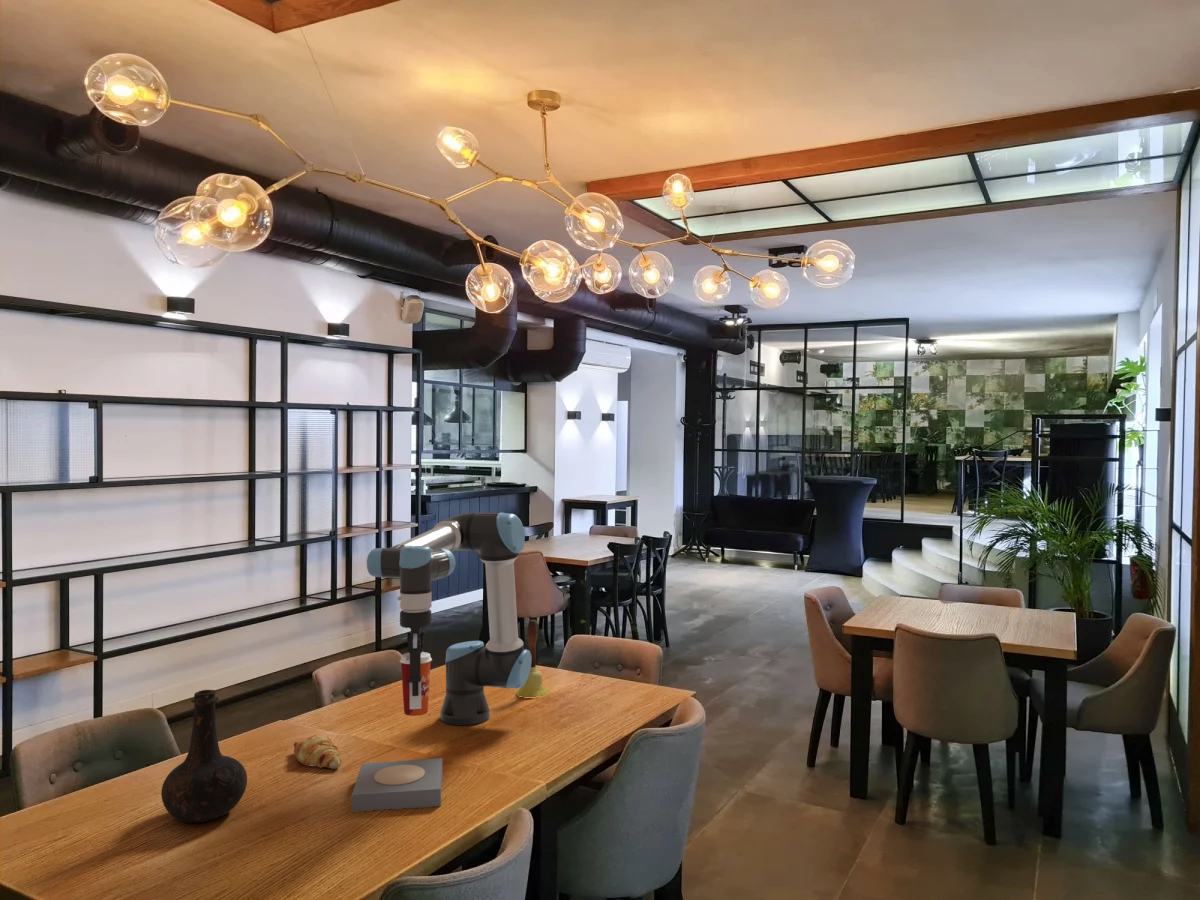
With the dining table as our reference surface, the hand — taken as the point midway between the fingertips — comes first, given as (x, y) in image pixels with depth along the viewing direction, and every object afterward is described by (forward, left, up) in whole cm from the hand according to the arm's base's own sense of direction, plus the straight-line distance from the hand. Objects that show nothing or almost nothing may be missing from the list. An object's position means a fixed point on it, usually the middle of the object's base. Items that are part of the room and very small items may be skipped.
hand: (415, 703), depth 204 cm
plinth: (0, -4, -21) cm, 21 cm away
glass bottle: (+5, -47, -21) cm, 52 cm away
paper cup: (0, 0, -2) cm, 2 cm away
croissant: (-25, -27, -22) cm, 43 cm away
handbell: (-78, +35, -21) cm, 88 cm away
